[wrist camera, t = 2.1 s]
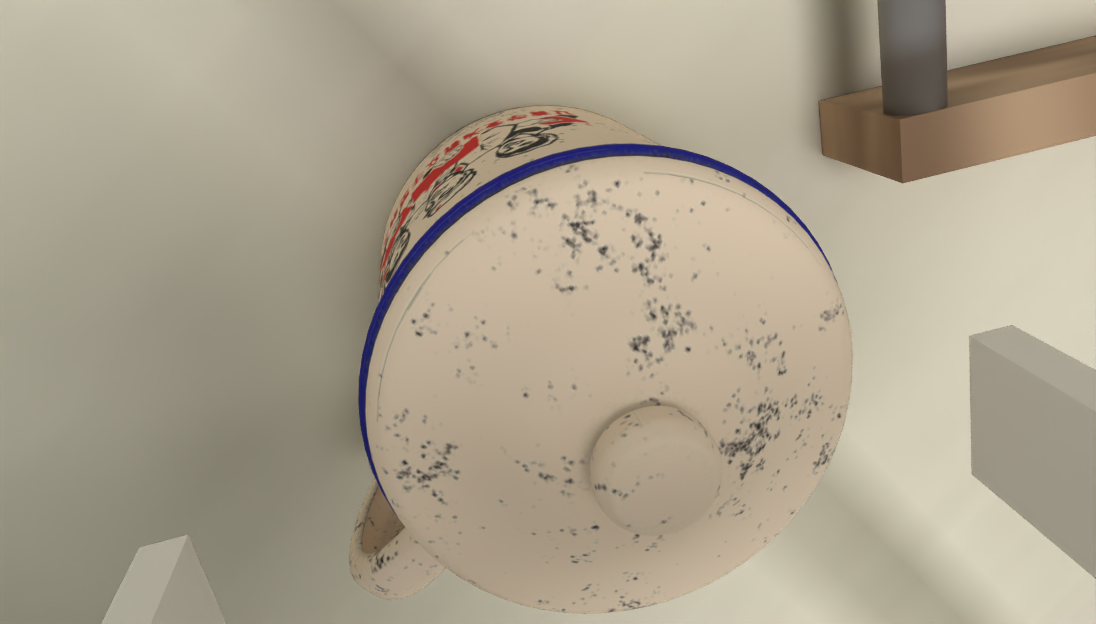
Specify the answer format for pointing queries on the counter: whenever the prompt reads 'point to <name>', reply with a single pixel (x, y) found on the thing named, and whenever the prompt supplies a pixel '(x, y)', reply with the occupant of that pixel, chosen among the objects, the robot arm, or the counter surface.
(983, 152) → the wooden tray
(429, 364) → the teacup with lid
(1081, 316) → the counter surface
